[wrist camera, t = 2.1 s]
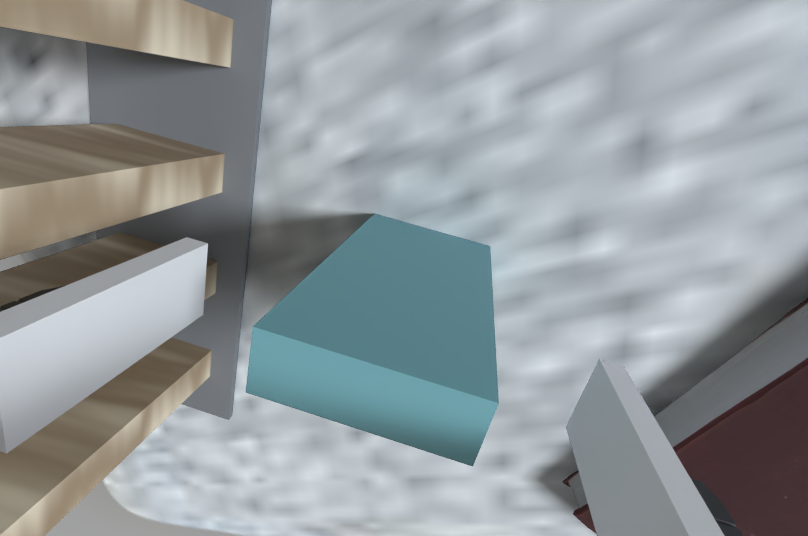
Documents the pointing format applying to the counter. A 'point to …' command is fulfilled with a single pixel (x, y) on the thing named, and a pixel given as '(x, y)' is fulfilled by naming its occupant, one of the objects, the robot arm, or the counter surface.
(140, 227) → the runner mat
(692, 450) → the book
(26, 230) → the beige wooden block
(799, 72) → the counter surface
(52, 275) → the light wood flat block
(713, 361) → the counter surface
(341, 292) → the tile
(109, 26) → the light wood flat block
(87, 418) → the tile
